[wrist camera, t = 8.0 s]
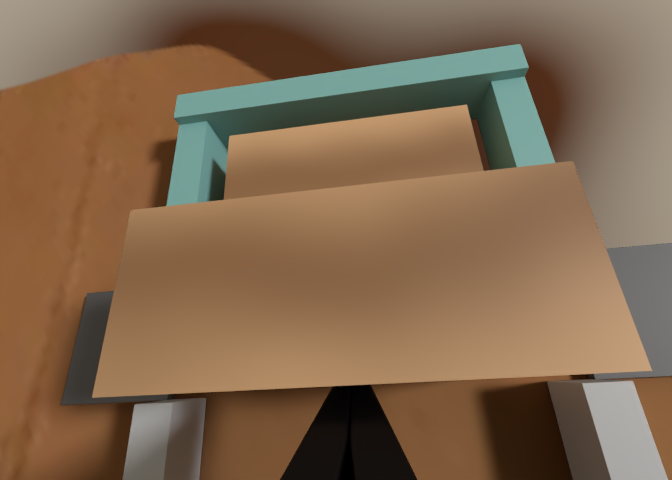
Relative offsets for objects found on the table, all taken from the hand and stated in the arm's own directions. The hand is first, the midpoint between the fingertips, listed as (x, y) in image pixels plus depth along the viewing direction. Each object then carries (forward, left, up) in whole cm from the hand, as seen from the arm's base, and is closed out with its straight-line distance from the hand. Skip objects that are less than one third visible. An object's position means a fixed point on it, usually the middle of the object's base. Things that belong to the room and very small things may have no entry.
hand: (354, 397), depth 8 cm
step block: (+4, +4, -7) cm, 9 cm away
